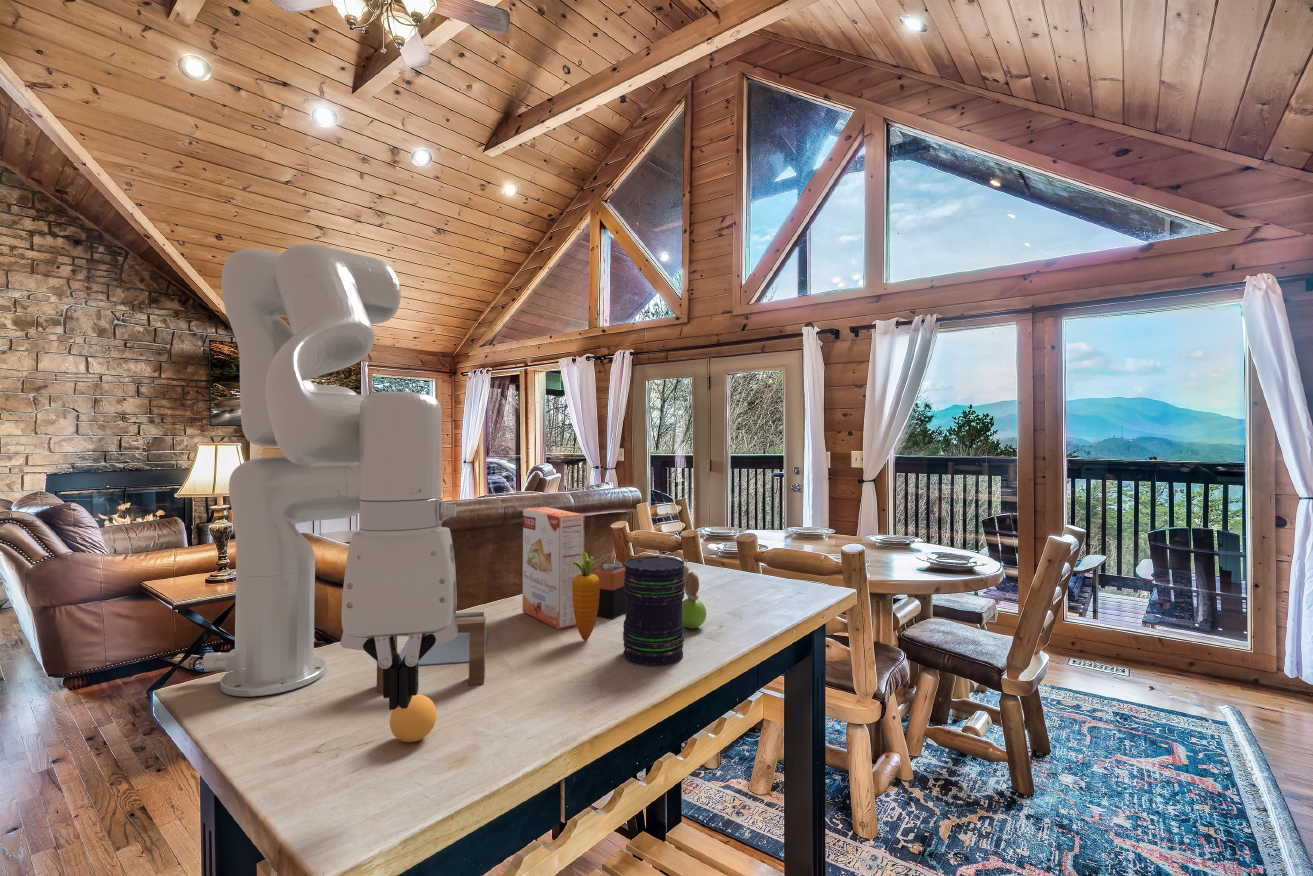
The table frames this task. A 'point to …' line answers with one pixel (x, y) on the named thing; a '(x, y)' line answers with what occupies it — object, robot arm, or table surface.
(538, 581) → the cracker box
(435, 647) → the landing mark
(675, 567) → the dark blue cylinder
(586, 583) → the carrot
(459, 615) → the wall
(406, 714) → the ball
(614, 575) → the battery
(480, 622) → the bridge
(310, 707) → the table surface
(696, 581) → the snail figurine
